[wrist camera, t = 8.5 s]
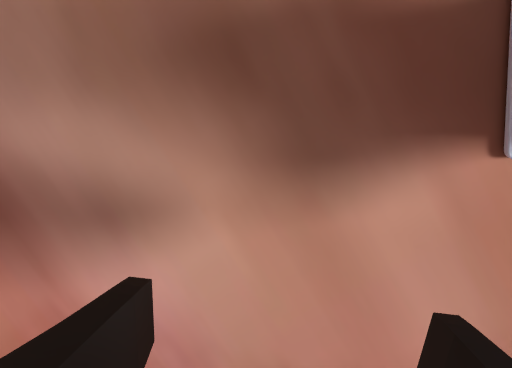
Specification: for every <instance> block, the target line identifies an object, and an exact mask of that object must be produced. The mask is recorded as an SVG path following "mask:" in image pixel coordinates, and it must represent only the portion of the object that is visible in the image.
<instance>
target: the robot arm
mask: <svg viewBox="0 0 512 368" xmlns="http://www.w3.org/2000/svg"><path fill="white" fill-rule="evenodd" d="M504 153H505V155H506V156H507V157H509V158H511V159H512V0H511V20H510V39H509V59H508V79H507V99H506V119H505V139H504ZM153 343H154V321H153V298H152V279H145V278H136V277H128V278H126V279H125V280H123V281H122V282H120V283H119V284H117V285H116V286H114V287H112V288H111V289H110V290H108V291H107V292H105V293H104V294H102V295H101V296H99V297H98V298H96V299H95V300H93V301H92V302H90V303H89V304H87V305H86V306H84V307H83V308H81V309H80V310H78V311H77V312H75V313H74V314H72V315H70V316H69V317H67V318H66V319H64V320H63V321H61V322H60V323H58V324H57V325H55V326H54V327H52V328H50V329H49V330H47V331H45V332H44V333H42V334H40V335H39V336H37V337H35V338H34V339H32V340H31V341H29V342H27V343H26V344H24V345H22V346H21V347H19V348H17V349H16V350H14V351H12V352H11V353H9V354H7V355H6V356H4V357H2V358H0V368H144V367H145V365H146V362H147V359H148V357H149V354H150V351H151V349H152V346H153ZM417 368H512V358H511V357H509V356H508V355H507V354H506V353H505V352H503V351H502V350H501V349H500V348H499V347H498V346H496V345H495V344H494V343H493V342H492V341H490V340H489V339H488V338H487V337H485V336H484V335H483V334H482V333H481V332H479V331H478V330H477V329H476V328H474V327H473V326H472V325H471V324H469V323H468V322H467V321H466V320H464V319H463V318H462V317H460V316H459V315H450V314H442V313H433V315H432V319H431V322H430V326H429V329H428V332H427V336H426V339H425V343H424V346H423V349H422V353H421V356H420V359H419V363H418V366H417Z"/></svg>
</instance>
